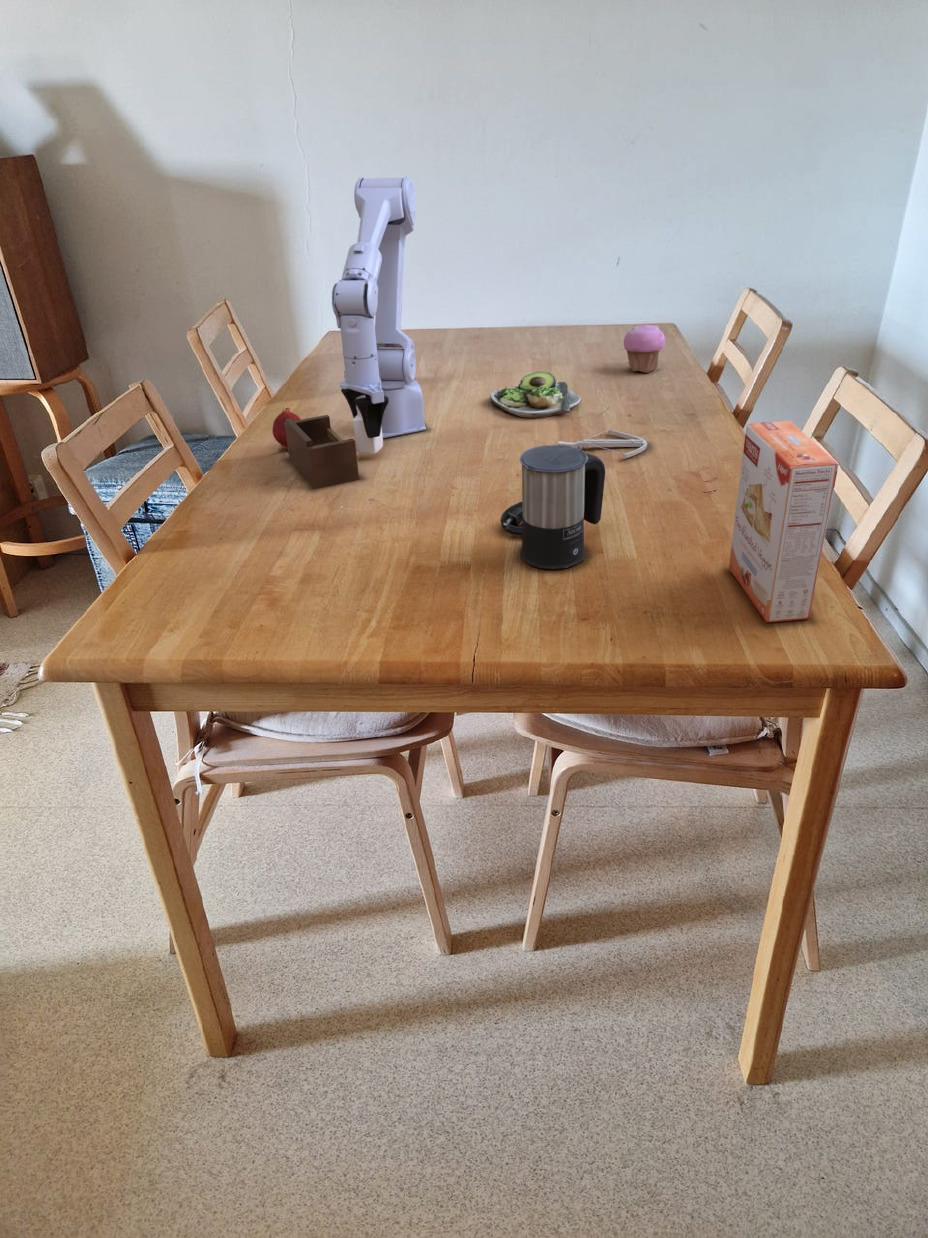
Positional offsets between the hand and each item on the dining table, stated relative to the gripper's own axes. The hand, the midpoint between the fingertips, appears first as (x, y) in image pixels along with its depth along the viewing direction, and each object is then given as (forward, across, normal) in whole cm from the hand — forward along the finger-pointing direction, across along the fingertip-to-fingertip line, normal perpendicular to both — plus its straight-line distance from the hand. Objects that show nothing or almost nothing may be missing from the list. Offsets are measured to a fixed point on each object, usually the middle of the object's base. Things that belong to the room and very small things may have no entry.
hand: (368, 431), depth 158 cm
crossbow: (+5, +17, +38) cm, 42 cm away
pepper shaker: (+4, 0, 0) cm, 4 cm away
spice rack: (+5, +1, -9) cm, 10 cm away
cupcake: (+6, -18, +71) cm, 73 cm away
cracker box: (+5, +71, +28) cm, 77 cm away
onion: (+5, -12, -11) cm, 17 cm away
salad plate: (+5, -11, +40) cm, 42 cm away
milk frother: (+5, +44, +10) cm, 45 cm away
